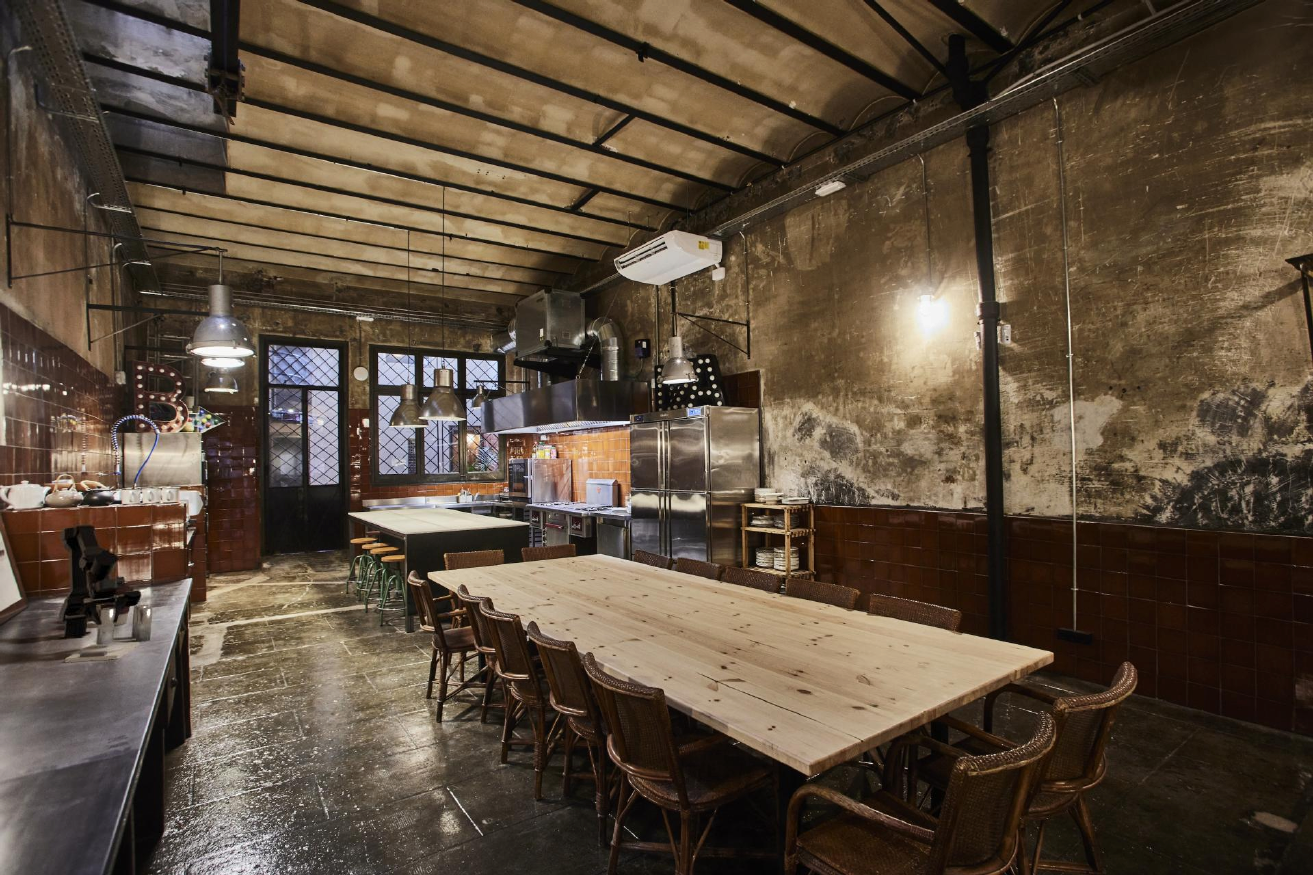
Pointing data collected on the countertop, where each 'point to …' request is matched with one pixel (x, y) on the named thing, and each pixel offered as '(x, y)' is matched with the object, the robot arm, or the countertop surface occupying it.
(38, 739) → the countertop surface
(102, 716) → the countertop surface
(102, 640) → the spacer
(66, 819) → the countertop surface
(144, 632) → the spacer
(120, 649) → the scale
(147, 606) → the spacer
